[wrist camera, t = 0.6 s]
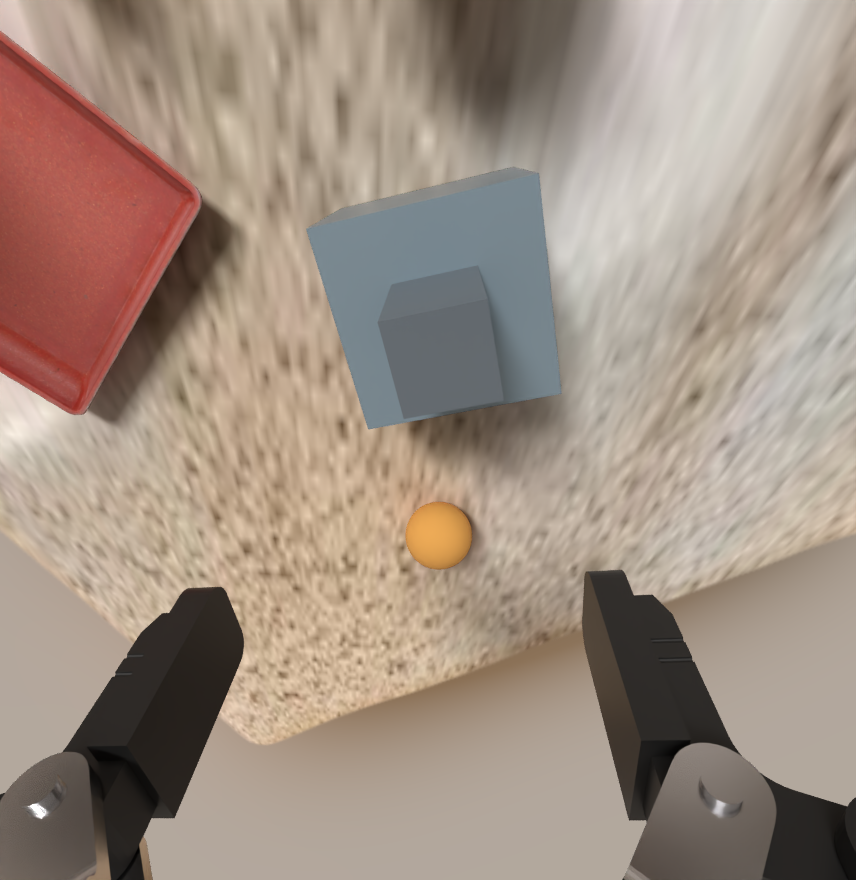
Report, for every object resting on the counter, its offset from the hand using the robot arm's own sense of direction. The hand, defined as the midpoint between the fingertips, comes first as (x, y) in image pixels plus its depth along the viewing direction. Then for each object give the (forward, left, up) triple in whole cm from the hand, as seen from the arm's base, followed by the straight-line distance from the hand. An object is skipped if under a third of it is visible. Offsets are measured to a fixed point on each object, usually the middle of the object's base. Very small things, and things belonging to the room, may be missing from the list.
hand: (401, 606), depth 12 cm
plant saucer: (+23, -11, -26) cm, 36 cm away
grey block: (-1, -2, -25) cm, 25 cm away
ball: (+3, +16, -22) cm, 28 cm away
